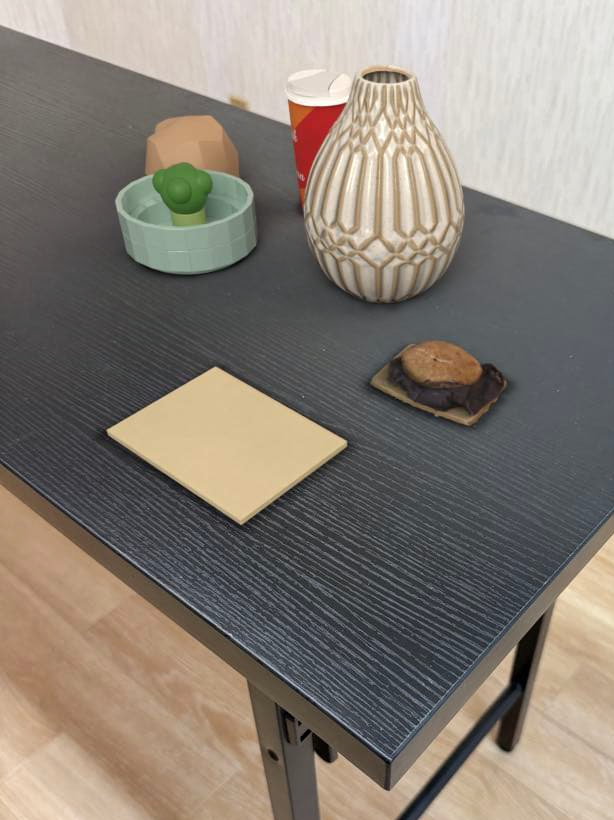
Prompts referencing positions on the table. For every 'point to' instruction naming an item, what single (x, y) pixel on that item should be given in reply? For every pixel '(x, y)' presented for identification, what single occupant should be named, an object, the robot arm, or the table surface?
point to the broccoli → (184, 192)
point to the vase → (384, 192)
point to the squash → (191, 145)
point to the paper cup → (313, 114)
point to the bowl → (189, 227)
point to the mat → (228, 443)
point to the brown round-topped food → (441, 381)
